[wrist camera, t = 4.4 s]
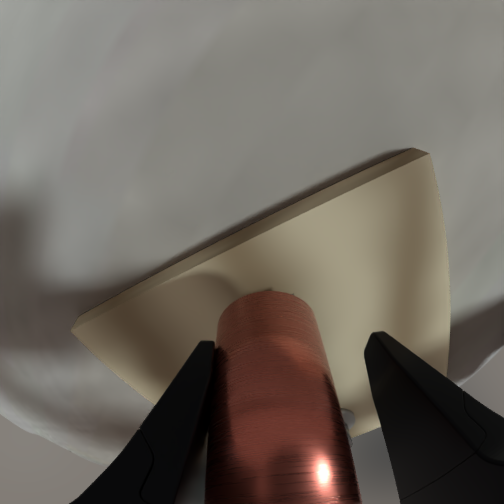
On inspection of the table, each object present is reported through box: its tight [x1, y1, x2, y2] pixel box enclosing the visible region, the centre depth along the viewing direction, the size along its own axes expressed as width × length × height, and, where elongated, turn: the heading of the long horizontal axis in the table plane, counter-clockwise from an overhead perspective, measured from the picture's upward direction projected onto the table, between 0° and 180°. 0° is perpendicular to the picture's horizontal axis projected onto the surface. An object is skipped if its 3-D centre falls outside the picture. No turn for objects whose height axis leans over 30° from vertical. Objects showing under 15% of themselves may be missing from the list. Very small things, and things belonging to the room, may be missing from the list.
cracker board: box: [70, 148, 450, 438], centre depth 14 cm, size 20×20×4 cm
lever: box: [204, 291, 362, 504], centre depth 11 cm, size 4×19×8 cm, turn 19°
